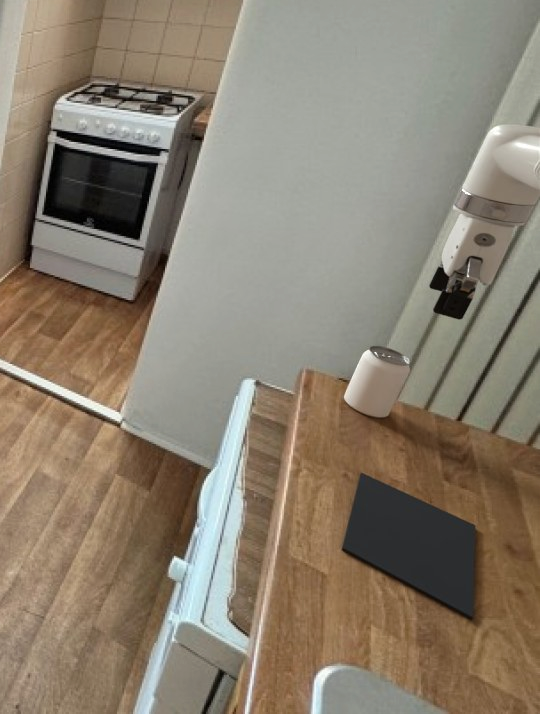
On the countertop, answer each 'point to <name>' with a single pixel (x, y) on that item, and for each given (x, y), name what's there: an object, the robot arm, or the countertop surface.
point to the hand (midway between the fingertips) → (444, 302)
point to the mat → (413, 543)
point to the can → (377, 381)
